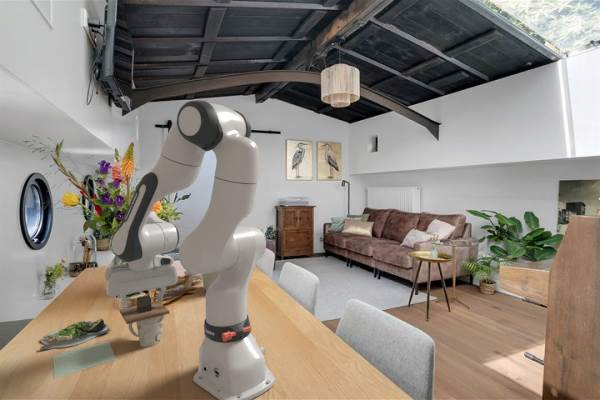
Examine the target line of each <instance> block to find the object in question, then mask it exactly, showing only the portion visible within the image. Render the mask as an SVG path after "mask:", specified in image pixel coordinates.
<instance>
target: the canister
mask: <svg viewBox="0 0 600 400" xmlns="http://www.w3.org/2000/svg"><path fill="white" fill-rule="evenodd" d="M219 273H220V271H216V272H212V273H206V274H201V278H202V279H201V280H202V285H203V288H204V290H205V291H206V292H207V289H208V288H209V286H210V285H211V284H212V283H213V282H214V281H215V280H216V279H217V277H218V275H219Z"/></svg>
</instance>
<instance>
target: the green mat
mask: <svg viewBox="0 0 600 400" xmlns="http://www.w3.org/2000/svg"><path fill="white" fill-rule="evenodd" d="M109 341H110V340H107V341H104V342H100V343H96V344H92V345H89V346H86V347H81V348H78V349H75V350H70V351H67V352H63V353H60V354H56V355H52V358H53V359H52V360H53V361H52V362H53V377H54V379H58V378H62V377H65V376H68V375H71V374H75V373H78V372H80V371H84V370H88V369H90V368H93V367H97V366H101V365H103V364H107V363H109V362H114V361H116V360H117V357H116V355H115V353H114V351H113V348H112V346H111V343H110V342H109Z"/></svg>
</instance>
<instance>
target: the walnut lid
mask: <svg viewBox="0 0 600 400" xmlns="http://www.w3.org/2000/svg"><path fill="white" fill-rule="evenodd" d="M118 310H119V313H120V315H121V317H122V318H123V320H124V322H125V324H126V325H129V324H130V323H133V324H135V323H136V322H138V321H142V320H146V319H150V318H154V317H158V316H162V315H164V316H166V315H170V310H169V309H168V307H166V306H165V305H164V304H163V303H162V302H161V301H157V300H156V301H152V297H150V295H143V296H139V297H136V305H133V306H131V307H130V308H126V309H125V307H124V308H120V309H118Z"/></svg>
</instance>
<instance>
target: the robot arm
mask: <svg viewBox="0 0 600 400" xmlns="http://www.w3.org/2000/svg"><path fill="white" fill-rule="evenodd" d="M251 134H252V127H251V123H250V121H249V119H248V118H247V116H245V115H244V114H242V113H241V112H240V111H238V110H233V109H231V108H229V107H226V106H225V105H222V104H218V103H214V102H207V101H205V100H191V101H186V102H185V103H184V104H183V105H182V106H181V107H180V108H179V110H178V112H177V115H176V121H174V122H173V123H172V125H171V127H170V129H169V131H168V132H167V135H166V137H165V140H164V143H163V145H162V149H161V152H160V155H159V158H158V160H157V162H156V164H155V165H154V167H152V169H151V170H150V171H149V172H148V173H146V174H145V175H144V176H142V178H141V180H140V181H139V182H138V184H137V187H136V188H135V191H134V192H133V195H132V197H131V200H130V203H129V205H128V207H127V209H126V211H125V214H124V216H123V218H122V221H121V222H120V224H119V226H118V227H117V229H116V230H115V231H114V233H113V235H112V238H111V243H110V245H111V251H112V253H113V254H114V255H115V256H116V257H117V258H118V259H120V260H122V261H124V262H125V263H122V264H114V265H111V266H109V267H108V268H106V270H105V271H104V275H105V280H106V281H107V282H106V295H107V296H108V297H110V298H114V297H120V298H121V300H122V302H123V303H124V305H123V306H124V308H125V309H126V308H130V307H132V305H131V304H132V301H131V300H126V299H127V295H129V294H130V295H131V294H136V293H140V292H144V291H150V290H155V289H160V292H159V293H158V294H156V301H160V302H161V301H163V299H164V294H165V293H166V291H167V287H170V286H175V285H176V284H177V283H178V271H177V267H176V265H174V262H175V260H174V259H175V258H173V257H172V256H170V255H168V253H170V252H174V251H175V250H176V249H177V248H178V246H179V248H178V258H179V263H180V266H181V267H182V268H183V269H184V270H185V271H186V272H187V273H189V274H193V275H195V274H197V275H200V274H201V275H202V274H206V273H212V272H216V271H220V273H219V275H218V277H217V279H216V280H215V281H214V282H213V283H212V284H211V285H210V286H209V288H208V289H207V291H206V292H205V318H204V322H203V323H204V324H203V330H204V333H203V334H204V338H203V340H202V342H201V344H200V346H199V353H198V354H199V355H198V369H197V372H196V373H195V374H194V375H193V382H194V383H195V384H196V385H198V386H199V387H201V388H202V389H203V390H205V391H206V392H208V393H209V394H211V395H212V396H213V397H215V398H216V399H218V400H252V399H254V398H257V397H259V396H261V395H262V394H264V393H265V392H267V391H268V390H270V389H271V388H272V387H273V386H274V384H275V383H276V377H275V376H274V374H273V372H272V371H271V369H269V367H268V366H267V365H266V361H265V355H266V350H265V348H264V346H260V347H259V345H258V343H257V338H256V337H254V336H253V334H252V327H253V326H252V325H251V320H250V317H249V315H248V290H249V284H250V280H251V278H252V275H253V272H254V270H255V267H256V265H257V263H258V262H259V261H260V259H261V258H262V257H263V255H264V254H265V252H266V249H267V241H266V236H265V234H264V233H263V231H262V230H261V229H259V228H258V227H255V226H248V225H247V226H245V225H240V224H241V223H242V221H244V219H245V218H247V217H248V216H249V215H250V214H251V213H252V211H253V209H254V205H255V204H254V203H255V199H256V194H257V193H256V191H257V185H258V181H259V180H258V179H259V170H260V169H259V168H260V151H259V147H258V144H257V143H256V142H255V141H254V140H252V139H251ZM211 151H212V152H213V153H214V156H215V158H216V160H215V161H216V165H215V171H214V177H213V178H214V179H213V184H212V191H211V196H210V201H209V204H208V207H207V210H206V212H205V214H204V216H203V217H202V218H201V220H200V222H199V224H198V225H197V226H196V228H194V230H193V231H191V232H190V233H189V234H188V235H187V236H185V237H184V238H183V239H182V240H181V243H180V231H179V230H178V228H177V226H176V225H175V224H174V223H173V222H168V221H166V220H163V219H162V218H160V217H158V215H157V213H156V212H155V211H153V208H154V206H155V205H156V203H158V202H159V201H160V200H162V199H163V198H165V197H168V196H170V195H173V194H174V193H177V192H180V191H183V190H185V189H188V188H189V187H190V186H193V184H194V183H195V182H196V180H197V178H198V177H199V175H200V171H201V167H202V165H203V160H204V157H205V154H206V152H211ZM179 243H180V245H179Z"/></svg>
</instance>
